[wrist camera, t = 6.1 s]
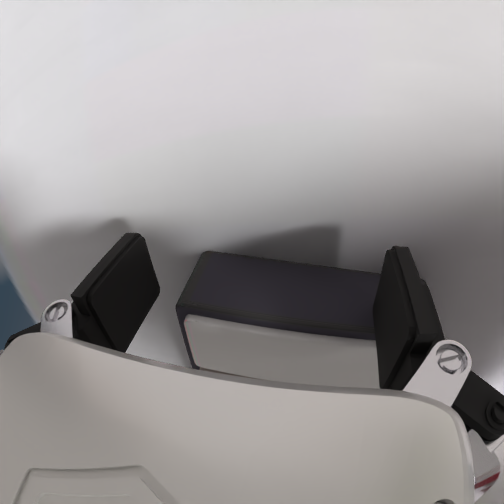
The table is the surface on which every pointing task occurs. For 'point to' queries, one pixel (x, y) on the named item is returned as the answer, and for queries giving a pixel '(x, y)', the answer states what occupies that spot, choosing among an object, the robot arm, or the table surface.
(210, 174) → the table surface
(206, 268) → the calculator
